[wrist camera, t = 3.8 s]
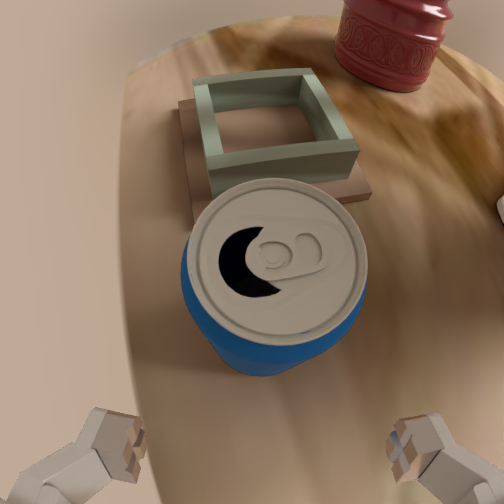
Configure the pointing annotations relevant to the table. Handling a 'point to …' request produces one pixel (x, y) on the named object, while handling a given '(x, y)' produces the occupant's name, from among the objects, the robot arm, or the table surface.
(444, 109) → the table surface
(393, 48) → the canister
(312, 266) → the beverage can
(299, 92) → the cradle
